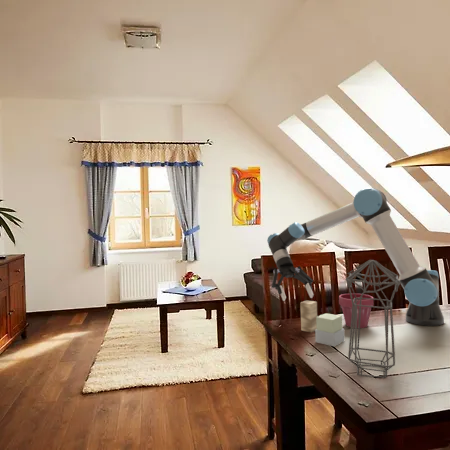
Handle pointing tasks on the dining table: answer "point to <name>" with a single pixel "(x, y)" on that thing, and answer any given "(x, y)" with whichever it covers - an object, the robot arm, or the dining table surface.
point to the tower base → (329, 337)
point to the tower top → (329, 323)
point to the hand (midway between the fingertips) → (298, 297)
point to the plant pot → (365, 311)
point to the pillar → (308, 315)
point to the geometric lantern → (354, 307)
